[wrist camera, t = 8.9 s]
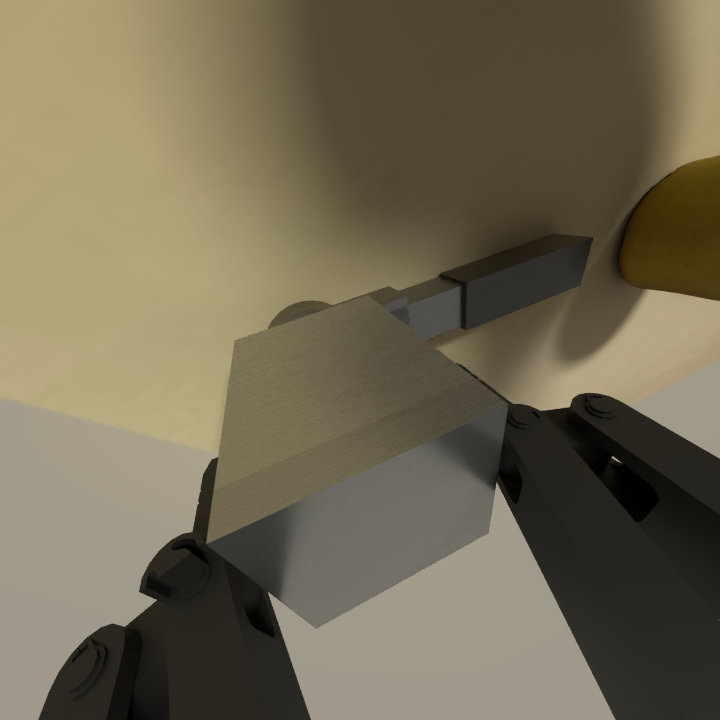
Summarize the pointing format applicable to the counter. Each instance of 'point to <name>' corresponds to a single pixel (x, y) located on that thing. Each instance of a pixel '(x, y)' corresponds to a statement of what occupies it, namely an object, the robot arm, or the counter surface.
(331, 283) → the counter surface
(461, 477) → the grey block
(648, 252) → the mug
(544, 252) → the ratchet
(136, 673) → the robot arm
